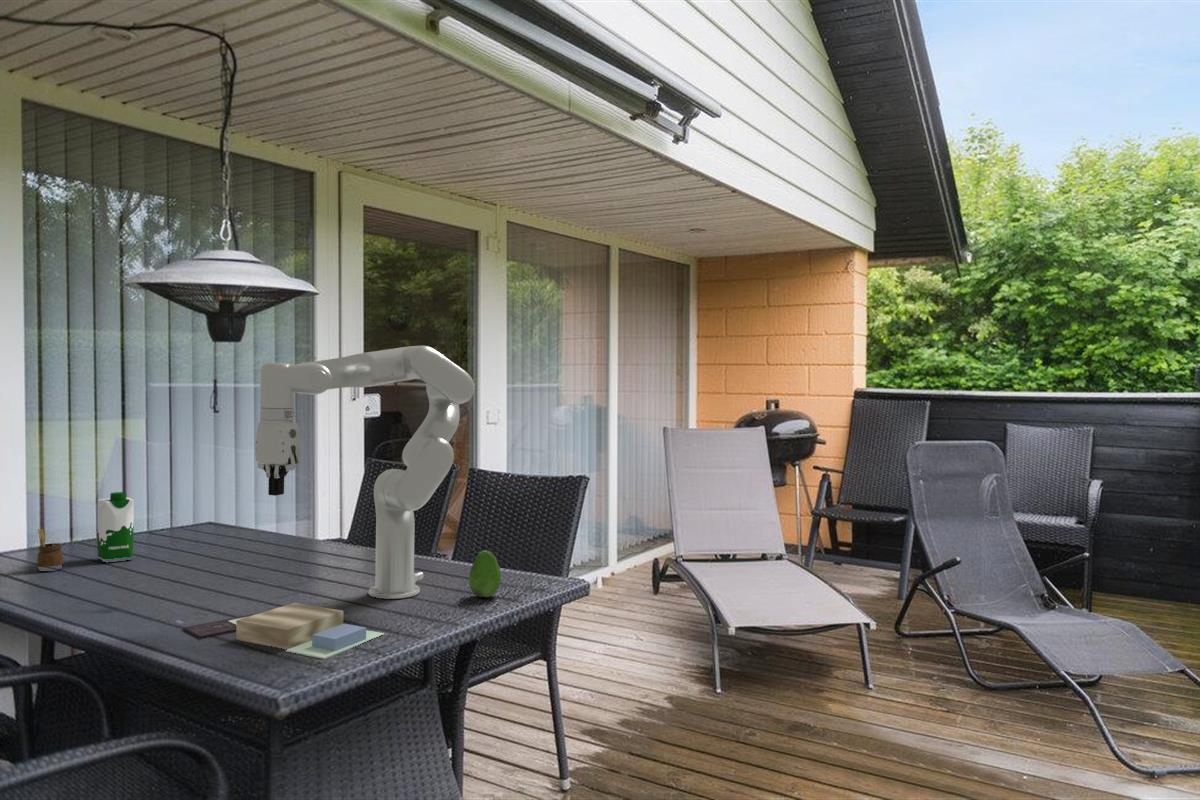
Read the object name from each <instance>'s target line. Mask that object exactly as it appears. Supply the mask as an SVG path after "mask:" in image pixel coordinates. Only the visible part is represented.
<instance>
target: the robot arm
mask: <svg viewBox="0 0 1200 800" xmlns="http://www.w3.org/2000/svg"><path fill="white" fill-rule="evenodd" d="M259 376H260V377H259V378H260V380H259V382H260V383H259V385H260V386H259V392H260V393H259V394H260V395H259V421H258V423H257V428H256V433H255V434H256V436H255V447H254V448H255V449H254V450H255V451H254V454H255V457H254V458H255V461H256V462H257V468H259V469H261V470H263V471H264V472H265V476H266V478H268V493H267V494H268V495H269V496H274V497H275V496H281V495H284V494H285V478H286V477H287V475H288V473H289V472H291V471H295V470H297V466H296V465H297V464H299V463H300V462H301V438H300V430H299V425H298V422H296V421H295V418H296V416H297V412H296V409H295V401H296V400H295V399H296V398H295V397H296V394H299V395H311V396H312V395H313V396H315V395H316V396H317V395H321V394H323V393H326V391H327V390H334V389H342V388H367V387H369V388H370V387H377V386H381V385H387V384H393V383H400V382H406V381H412V380H422V381H423V382H424V383H426V387H425V388H426V395H427V398H428V403H429V405H428V406H429V409H428V413H427V415H426V417H425V419H424V420H423V421H422V423H421V424H420V425H419V427H418V428H417V430H416V431H415V432H414V434H413V435H412V437H411V438H410V439H409V441H407V443H406V445H405V446H404V448H403V449H402V453H401V457H402V461H403V462H402V463H404V465H405V466H406V467H407V468H406V469H405V470H404V469H399V468H391V469H386V470H384V471H383V472H381V474H379V475H378V476H377V478H376V480H375V483H374V487H373V500H374V506H375V526H376V527H375V565H374V566H375V570H374V571H375V574H374V575H375V578H374V579H375V580H374V586H371V587H370V588H369V589H368V595H369V596H370V597H372V598H375V597H376V598H377V599H382V598H383V599H385V600H396V599H407V598H411V597H414V596H417V595H418V594H419V593H420V590H421V589H420V586H418V585H417V584H416V582H417V581H420V580H422V579H424V573H423V572H422V571H419V572H415V532H416V531H415V530H416V529H415V528H416V527H415V513H414V511H415V512H416V511H418V510H420V509H421V508H422V507H423V506H425V505H426V504H427V503H428V501H429V500H430V499H431V498H432V496H433V495H434V493H436V490H438V487H439V486H440V485H441V483H442V482H443V481H444V479H445V478H446V477H447V476H448V475H447V474H448V473H449V472H450V470H451V468H452V466H453V462H454V458H455V457H454V449H453V447H452V445H451V444H450V441H451V440H452V438H453V436H454V435H455V433H456V432H457V429H458V428H459V424H460V418H461V417H460V405H462V404H465V403H467V402H469V401H470V400H471V399H472V398H473V396H474V393H475V389H476V388H475V382H474V380H473V378H472V377H471V375H470V374H469V373H468V372H467V371H466V370H464V369H463V368H461V367H460V366H459V365H457V364H456V363H454V362H453V361H452V360H450V359H449V358H447V357H446V356H445V355H444V354H442V353H441V352H439V351H437V350H436V349H435V348H433V347H430V346H427V345H412V346H403V347H397V348H387V349H382V350H376V351H367V352H361V353H356V354H351V355H347V356H340V357H336V358H329V359H322V360H317V361H316V360H314V361H309V362H301V363H300V362H299V363H297V364H292V363H286V362H266V363H263V364H262V365H261V366H260V375H259ZM295 393H296V394H295ZM383 599H382V600H383Z"/></svg>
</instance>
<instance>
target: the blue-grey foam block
mask: <svg viewBox="0 0 1200 800" xmlns="http://www.w3.org/2000/svg"><path fill="white" fill-rule="evenodd" d="M366 630H367V627H365V626H359V625H354V624H349V623H348V624H347V623H343V624H341V625H339V626H336V627H333V628H330V629H327V630H324V631H321V632H319V633H316V634H313V635H312V647H317V648H322V649H327V650H332V651H337V650H339V649H342V648H344V647H347V646H350V645H352V644H355V643H357V642H360V641H363V640H365V639H366Z"/></svg>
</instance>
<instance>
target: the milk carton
mask: <svg viewBox="0 0 1200 800" xmlns="http://www.w3.org/2000/svg"><path fill="white" fill-rule="evenodd" d="M109 495H110V497H108V498H98V499H97V537H96V538H97V541H96V543H97V557H98V556H99V557H101V558H103V559H114V558H123V557H132V558H133V556H134V555H133V553H134V533H135V531H134V529H135V527H134V526H135V525H134V519H135V517H134V514H135V513H134V512H135V499H132V498H131V497H127V492H124V491H121V492H119V491H116V492H111V493H110V494H109Z"/></svg>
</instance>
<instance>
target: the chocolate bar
mask: <svg viewBox="0 0 1200 800" xmlns="http://www.w3.org/2000/svg"><path fill="white" fill-rule="evenodd" d="M259 613H260V612H258V613H253V614H247V615H240V616H236V617H231V618H226V619H221V620H215V621H210V622H204V623H200V624H194V625H189V626H188V625H187V626H184V627H182V630H183V631H184V630H185V631H184V632H186V631H187V632H186V633H188V634H190V635H191V634H192V636H193V635H194V636H193V637H195V636H196V637H195V638H197V639H199V638H200V639H199V640H203V639H202V638H204V639H208V638H207V637H209V638H213V637H212V636H214V637H218V636H217V635H219V636H223V635H222V634H224V635H228V634H232V633H236V624H237V620H239V619H243V618H246V617H249V616H253V615H256V614H259ZM227 633H228V634H227Z"/></svg>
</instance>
